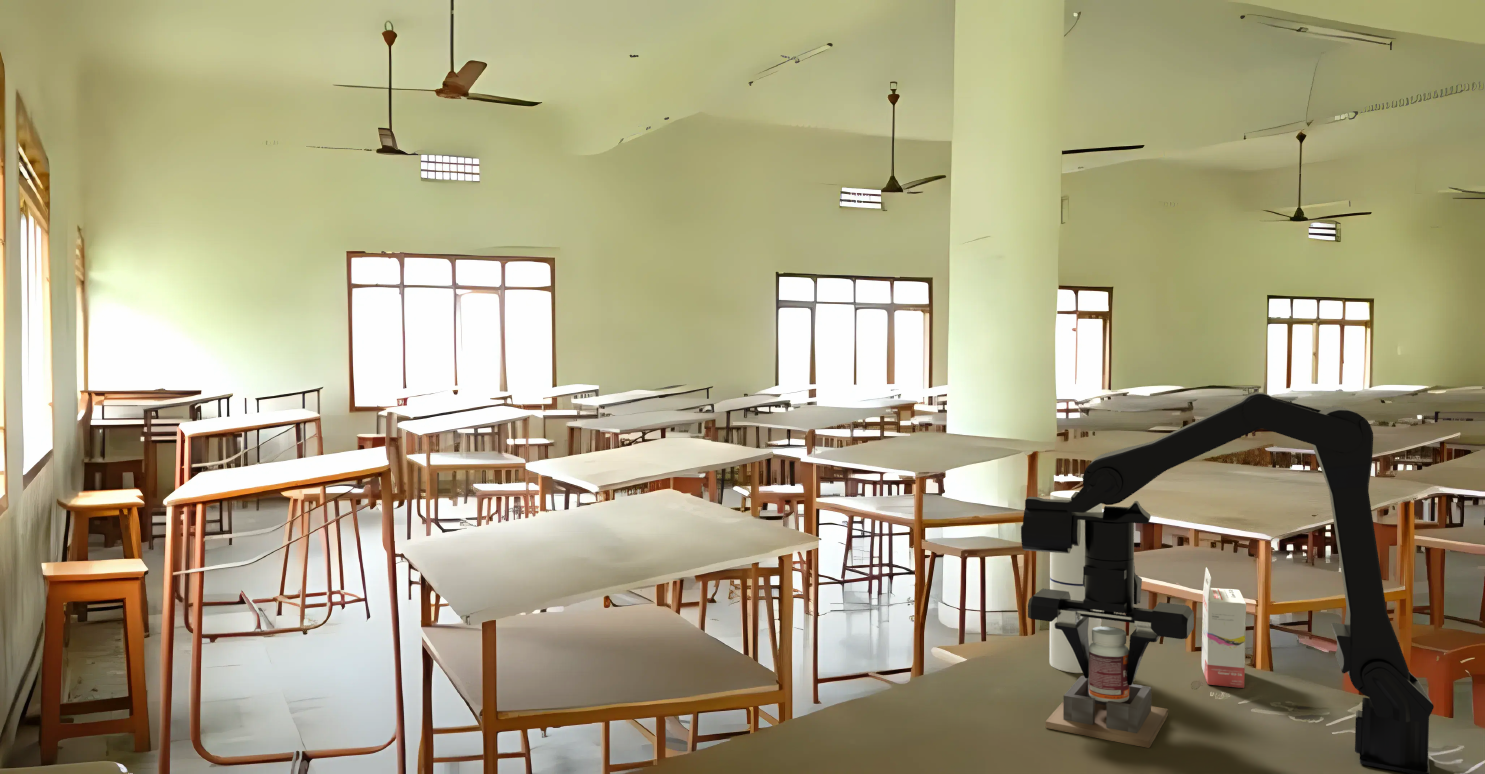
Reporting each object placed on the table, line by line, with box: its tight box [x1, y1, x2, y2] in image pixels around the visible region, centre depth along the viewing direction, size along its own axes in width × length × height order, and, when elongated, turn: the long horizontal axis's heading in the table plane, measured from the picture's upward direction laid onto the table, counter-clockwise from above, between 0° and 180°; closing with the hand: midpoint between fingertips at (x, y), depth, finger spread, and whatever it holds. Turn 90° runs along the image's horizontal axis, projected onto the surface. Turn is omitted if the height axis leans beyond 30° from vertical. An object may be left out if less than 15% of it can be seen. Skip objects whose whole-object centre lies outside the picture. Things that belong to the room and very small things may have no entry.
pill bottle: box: [1088, 626, 1129, 703], centre depth 126 cm, size 5×5×8 cm
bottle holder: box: [1045, 675, 1169, 749], centre depth 126 cm, size 12×12×4 cm
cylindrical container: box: [1049, 490, 1103, 674], centre depth 148 cm, size 7×7×25 cm
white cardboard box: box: [1201, 566, 1247, 689], centre depth 142 cm, size 9×5×15 cm, turn 161°
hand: (1108, 680), depth 126 cm, fingers closed on pill bottle, 5 cm apart
